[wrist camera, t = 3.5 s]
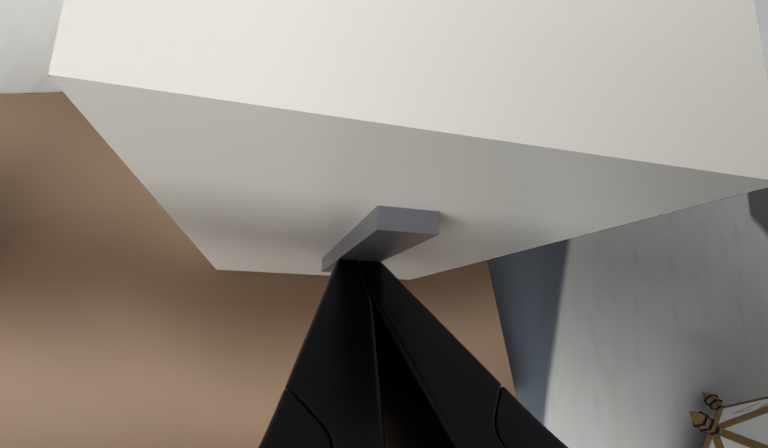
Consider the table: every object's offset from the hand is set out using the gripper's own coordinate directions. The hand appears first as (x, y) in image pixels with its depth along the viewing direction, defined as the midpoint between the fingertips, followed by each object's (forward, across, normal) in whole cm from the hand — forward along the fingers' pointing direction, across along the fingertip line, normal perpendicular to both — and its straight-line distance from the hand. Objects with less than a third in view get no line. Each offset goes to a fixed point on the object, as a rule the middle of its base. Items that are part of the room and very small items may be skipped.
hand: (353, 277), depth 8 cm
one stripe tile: (+5, 0, +3) cm, 6 cm away
